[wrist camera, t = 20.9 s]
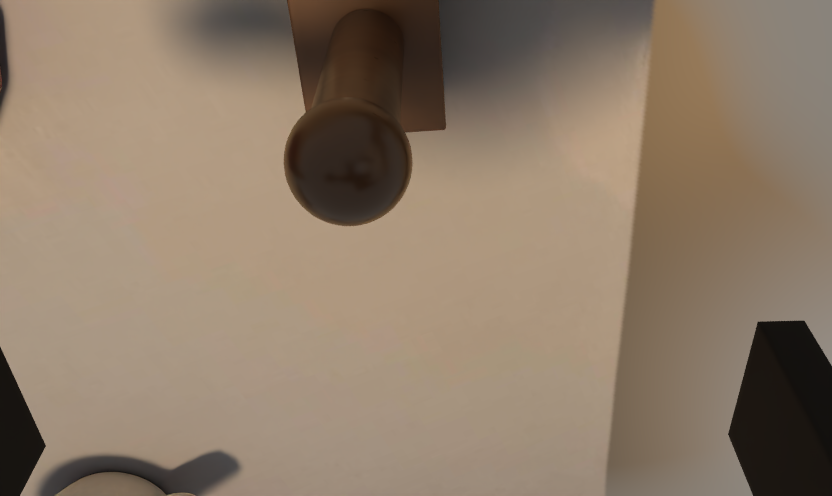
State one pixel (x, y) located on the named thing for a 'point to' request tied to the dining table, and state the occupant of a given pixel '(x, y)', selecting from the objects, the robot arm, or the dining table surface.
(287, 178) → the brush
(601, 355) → the dining table surface
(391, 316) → the dining table surface
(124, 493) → the mug
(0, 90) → the bowl
